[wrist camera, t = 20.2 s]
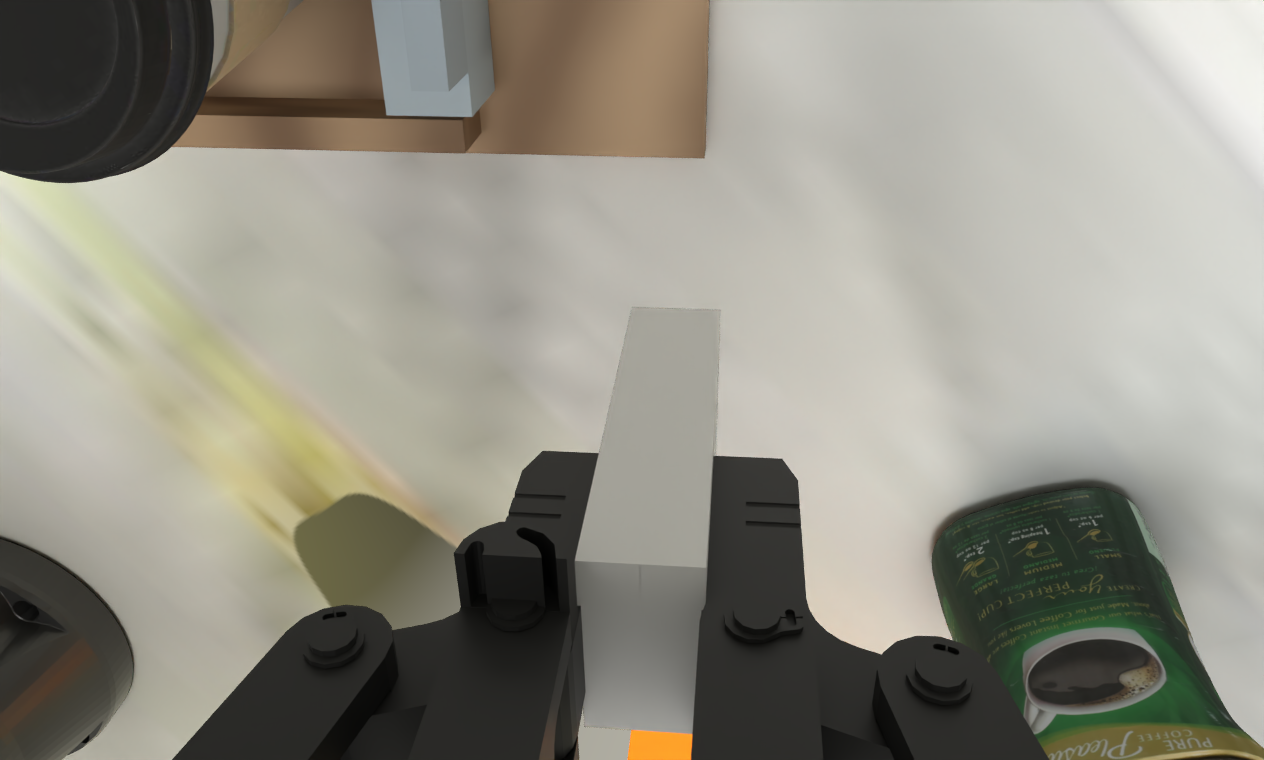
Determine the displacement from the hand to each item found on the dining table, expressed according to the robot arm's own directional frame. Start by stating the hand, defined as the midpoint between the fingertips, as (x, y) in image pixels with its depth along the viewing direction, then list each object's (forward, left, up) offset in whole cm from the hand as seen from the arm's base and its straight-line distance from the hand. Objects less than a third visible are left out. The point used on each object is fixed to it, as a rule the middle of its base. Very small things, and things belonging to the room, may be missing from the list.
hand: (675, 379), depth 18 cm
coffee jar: (+16, -22, -24) cm, 36 cm away
